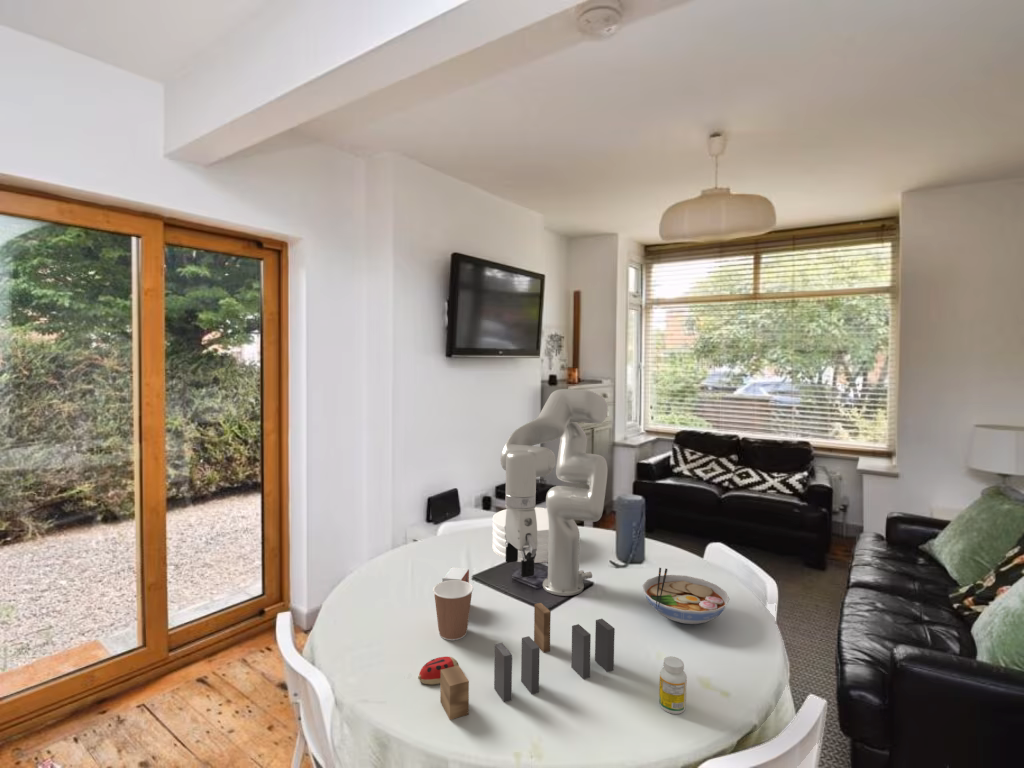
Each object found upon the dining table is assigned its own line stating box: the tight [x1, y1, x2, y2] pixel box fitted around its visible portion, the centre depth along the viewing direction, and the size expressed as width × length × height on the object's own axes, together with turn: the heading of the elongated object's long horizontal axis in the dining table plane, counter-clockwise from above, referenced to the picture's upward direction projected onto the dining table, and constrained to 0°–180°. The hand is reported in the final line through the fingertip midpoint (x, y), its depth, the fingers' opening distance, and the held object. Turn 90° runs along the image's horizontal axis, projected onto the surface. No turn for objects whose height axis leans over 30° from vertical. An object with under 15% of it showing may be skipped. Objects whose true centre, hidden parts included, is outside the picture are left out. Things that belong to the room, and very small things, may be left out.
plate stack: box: [491, 506, 549, 564], centre depth 202 cm, size 28×28×12 cm
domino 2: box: [520, 636, 541, 695], centre depth 119 cm, size 2×5×10 cm, turn 25°
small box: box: [441, 567, 470, 583], centre depth 154 cm, size 8×6×10 cm
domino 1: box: [493, 642, 513, 703], centre depth 116 cm, size 2×5×10 cm, turn 25°
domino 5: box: [594, 618, 616, 673], centre depth 127 cm, size 2×5×10 cm, turn 25°
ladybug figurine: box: [417, 656, 460, 686], centre depth 123 cm, size 7×10×4 cm
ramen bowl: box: [642, 567, 730, 625], centre depth 151 cm, size 25×23×8 cm
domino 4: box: [570, 623, 592, 680], centre depth 125 cm, size 2×5×10 cm, turn 25°
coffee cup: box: [432, 580, 474, 641], centre depth 141 cm, size 10×10×12 cm
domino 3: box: [533, 602, 552, 654], centre depth 135 cm, size 2×5×10 cm, turn 25°
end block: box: [439, 665, 470, 721], centre depth 112 cm, size 4×6×7 cm, turn 25°
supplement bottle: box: [658, 655, 688, 715], centre depth 113 cm, size 5×5×10 cm
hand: (519, 568), depth 136 cm, fingers open, 9 cm apart
